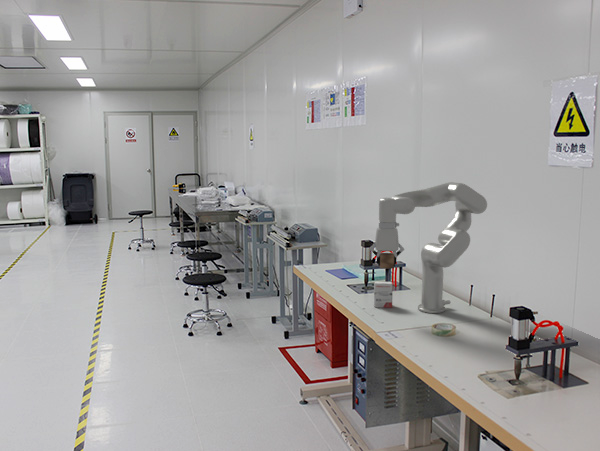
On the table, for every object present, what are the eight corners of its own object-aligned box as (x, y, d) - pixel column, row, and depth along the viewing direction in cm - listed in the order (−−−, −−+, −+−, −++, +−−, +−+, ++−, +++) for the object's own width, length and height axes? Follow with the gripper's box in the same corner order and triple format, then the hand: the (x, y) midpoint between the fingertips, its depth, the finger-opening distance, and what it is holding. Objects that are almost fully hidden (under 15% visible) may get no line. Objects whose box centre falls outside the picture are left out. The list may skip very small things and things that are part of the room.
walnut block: (392, 265, 244) (392, 252, 243) (393, 268, 238) (394, 255, 237) (379, 265, 244) (379, 252, 243) (380, 268, 238) (380, 255, 237)
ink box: (391, 305, 261) (392, 281, 259) (392, 307, 256) (392, 283, 254) (373, 304, 262) (374, 280, 260) (373, 307, 257) (374, 283, 255)
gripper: (405, 224, 241) (404, 263, 244) (367, 224, 243) (366, 263, 245) (407, 227, 234) (406, 267, 237) (368, 226, 235) (367, 267, 238)
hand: (386, 265), depth 241 cm, fingers closed on walnut block, 6 cm apart
